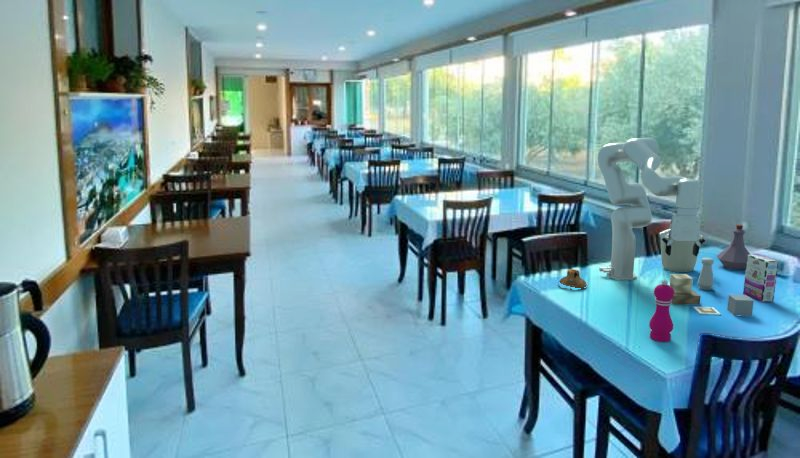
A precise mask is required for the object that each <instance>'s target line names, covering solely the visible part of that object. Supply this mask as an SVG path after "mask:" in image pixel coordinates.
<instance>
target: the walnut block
mask: <svg viewBox="0 0 800 458" xmlns="http://www.w3.org/2000/svg"><path fill="white" fill-rule="evenodd" d="M671 300H672V302H671V303H672V304H671V305H674V306H679V305H681V306H683V305H685V306H687V305H688V306H690V305H693V306H694V305H695V306H696V305H700V304H701V295H700V294H698V293H697V292H696V291H694V290H693V289H692V293H674V296H673V298H671Z"/></svg>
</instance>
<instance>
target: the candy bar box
mask: <svg viewBox="0 0 800 458" xmlns="http://www.w3.org/2000/svg"><path fill="white" fill-rule="evenodd" d="M779 263H780V262H779V261H778V260H776V259H773V258H771V257H767V256H764V255H761V254H751V255H748V256H747V264H746V269H745V274H744V283H743V291H742V292H743V294H742V295H747V296H748V297H750V298H751V299H753V300H756V301H758V302H761V303H774V299H775V291H776V290H775V289H776V284H777V283H776V282H777V275H778V268H779Z"/></svg>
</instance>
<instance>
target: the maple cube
mask: <svg viewBox="0 0 800 458" xmlns="http://www.w3.org/2000/svg"><path fill="white" fill-rule="evenodd" d="M693 280H694V278H693V277H692V276H690V275H688V274H687V273H671V274H670V280H669V286H671V287H672V288H673V290H674V293H692V290H693Z"/></svg>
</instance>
